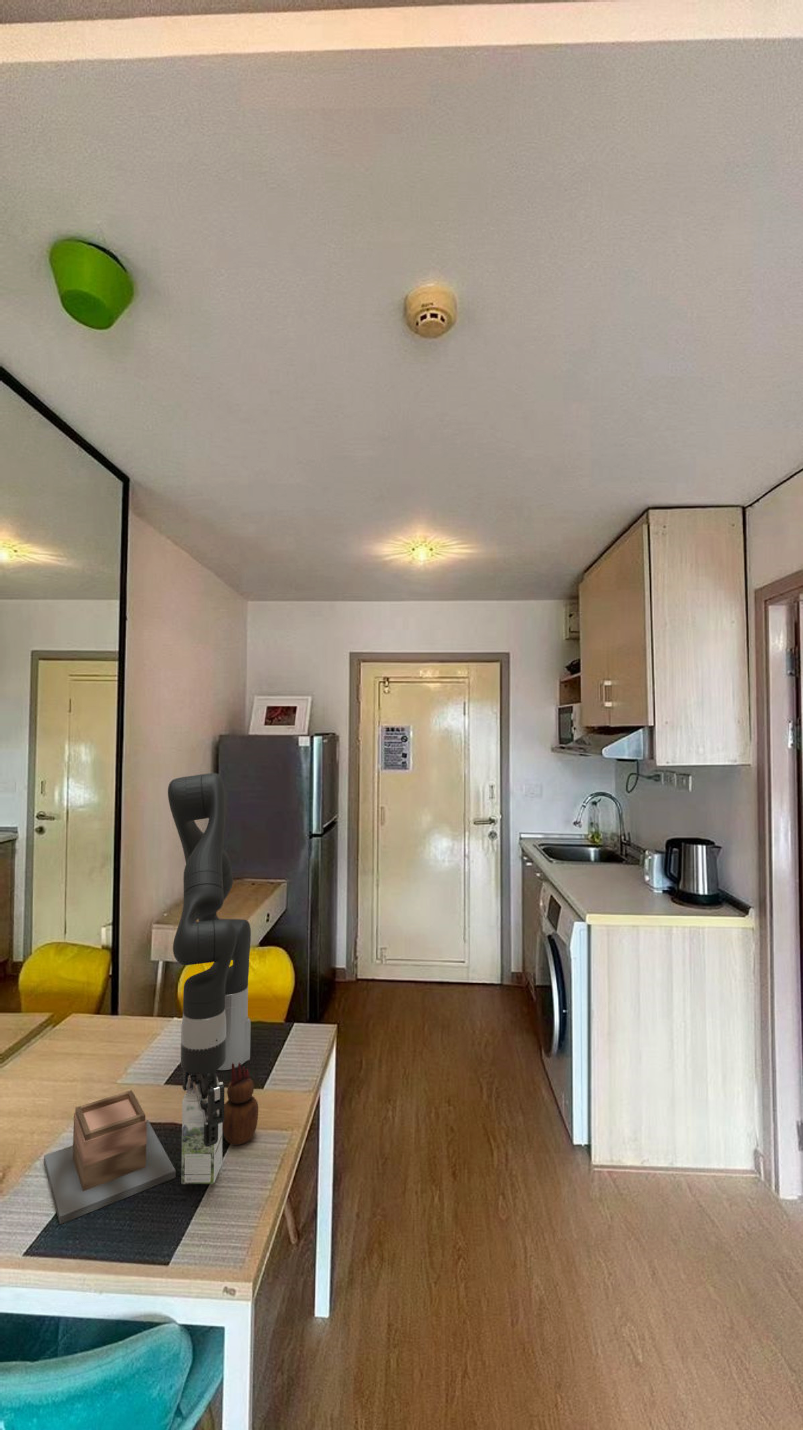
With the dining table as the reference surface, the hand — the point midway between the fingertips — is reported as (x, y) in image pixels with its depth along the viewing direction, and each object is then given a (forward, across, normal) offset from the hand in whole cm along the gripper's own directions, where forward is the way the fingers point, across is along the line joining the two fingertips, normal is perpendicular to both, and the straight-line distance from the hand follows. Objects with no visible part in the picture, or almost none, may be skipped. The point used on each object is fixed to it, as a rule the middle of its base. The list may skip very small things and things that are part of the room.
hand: (202, 1131), depth 109 cm
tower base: (+9, +13, +12) cm, 20 cm away
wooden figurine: (+9, +7, -10) cm, 15 cm away
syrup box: (+8, 0, 0) cm, 8 cm away
